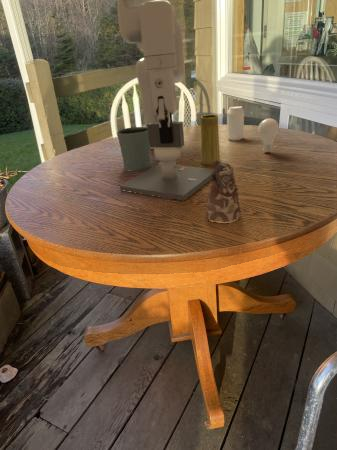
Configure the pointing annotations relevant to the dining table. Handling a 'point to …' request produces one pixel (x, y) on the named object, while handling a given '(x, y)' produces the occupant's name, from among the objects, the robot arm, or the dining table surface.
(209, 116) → the vase
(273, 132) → the lightbulb
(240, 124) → the beverage can
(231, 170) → the figurine
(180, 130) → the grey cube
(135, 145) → the grey-green cup
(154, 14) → the robot arm
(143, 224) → the dining table surface
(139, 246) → the dining table surface
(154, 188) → the post base
